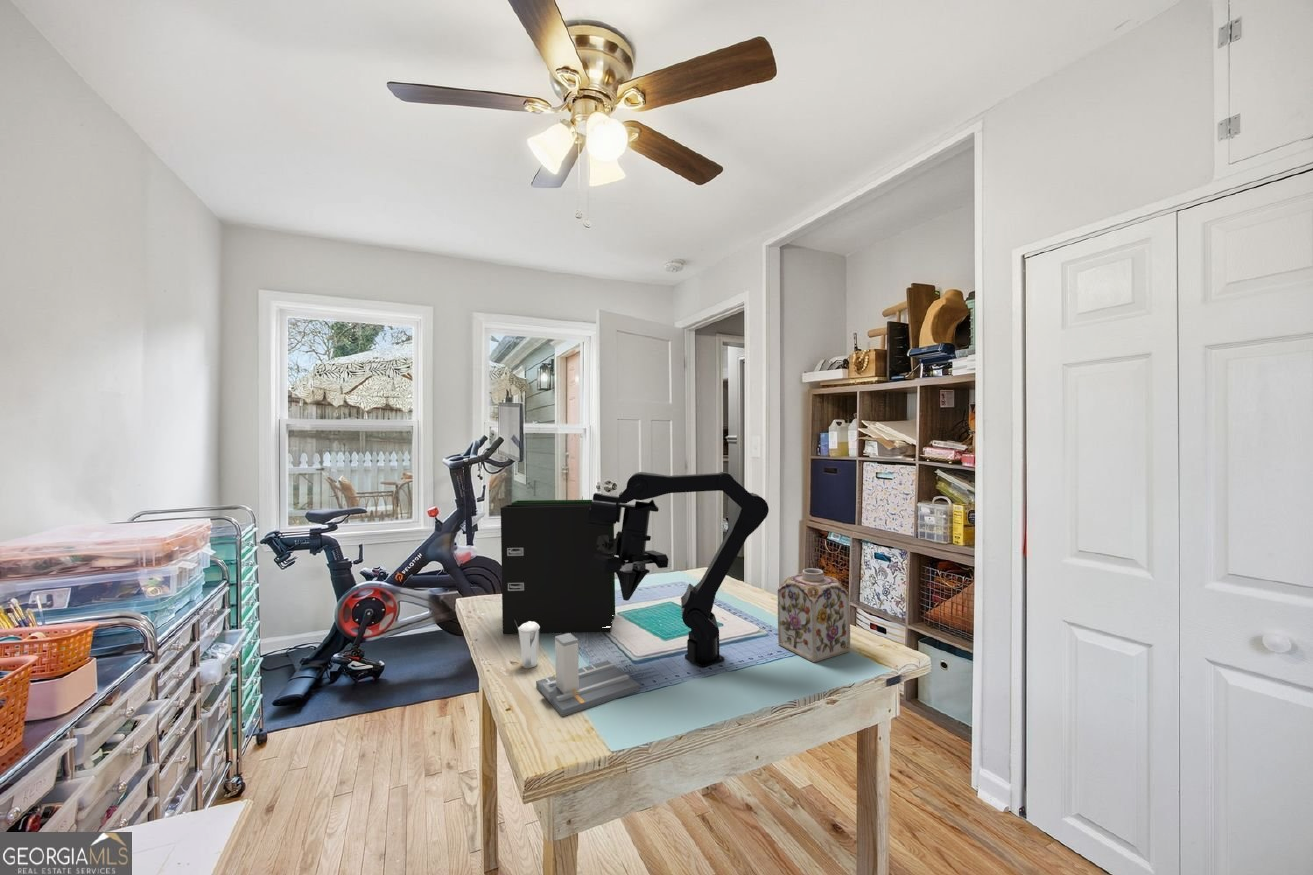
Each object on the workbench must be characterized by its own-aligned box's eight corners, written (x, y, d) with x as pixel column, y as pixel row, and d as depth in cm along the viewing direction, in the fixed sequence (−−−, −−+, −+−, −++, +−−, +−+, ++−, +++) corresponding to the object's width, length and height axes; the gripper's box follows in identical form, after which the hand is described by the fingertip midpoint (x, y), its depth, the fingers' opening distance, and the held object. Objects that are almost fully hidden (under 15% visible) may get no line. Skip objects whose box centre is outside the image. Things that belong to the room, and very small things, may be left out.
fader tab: (570, 681, 100) (569, 632, 100) (578, 689, 97) (578, 639, 97) (555, 685, 99) (555, 636, 99) (564, 694, 95) (563, 643, 95)
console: (607, 665, 110) (607, 653, 110) (639, 690, 99) (639, 676, 99) (533, 687, 101) (533, 674, 101) (559, 717, 90) (559, 702, 90)
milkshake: (517, 661, 113) (516, 616, 113) (541, 659, 114) (541, 614, 114) (513, 670, 109) (512, 623, 109) (538, 669, 109) (538, 622, 109)
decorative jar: (852, 652, 115) (851, 572, 115) (814, 664, 109) (813, 580, 109) (812, 634, 126) (811, 561, 125) (776, 644, 120) (775, 568, 120)
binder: (615, 613, 142) (613, 499, 142) (610, 634, 128) (608, 506, 127) (518, 614, 143) (516, 500, 142) (501, 635, 128) (499, 508, 128)
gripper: (640, 522, 125) (632, 586, 124) (578, 522, 112) (569, 594, 111) (673, 531, 117) (665, 599, 116) (611, 532, 104) (601, 609, 103)
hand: (625, 600), depth 112 cm, fingers closed
